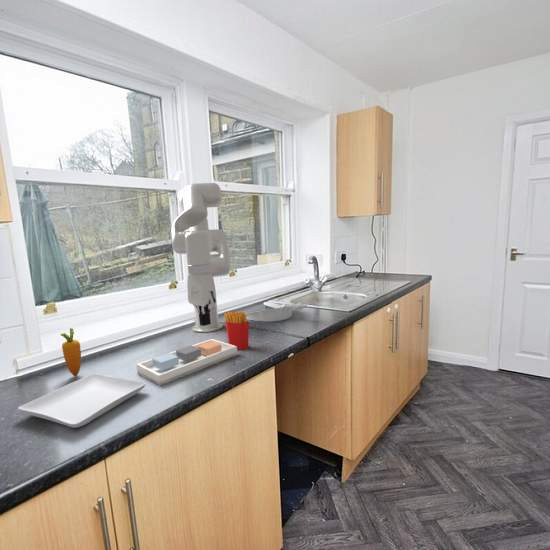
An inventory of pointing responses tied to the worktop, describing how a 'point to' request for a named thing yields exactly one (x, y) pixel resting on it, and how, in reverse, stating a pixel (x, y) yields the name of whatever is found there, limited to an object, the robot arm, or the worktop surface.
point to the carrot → (72, 353)
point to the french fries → (237, 329)
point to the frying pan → (275, 312)
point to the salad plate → (83, 399)
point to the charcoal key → (188, 353)
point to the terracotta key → (210, 348)
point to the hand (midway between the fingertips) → (205, 324)
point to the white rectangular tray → (185, 364)
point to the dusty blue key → (165, 361)
